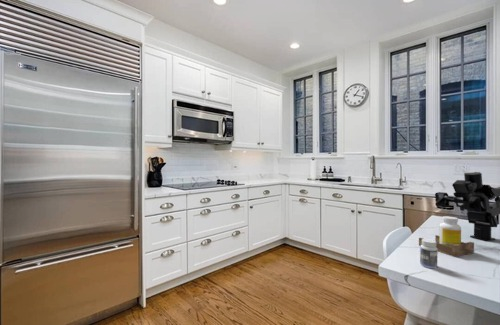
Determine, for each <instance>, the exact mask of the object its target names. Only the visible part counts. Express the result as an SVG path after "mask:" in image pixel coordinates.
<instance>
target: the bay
mask: <svg viewBox="0 0 500 325" xmlns="http://www.w3.org/2000/svg"><path fill="white" fill-rule="evenodd" d="M422 239H424V237H418V246H419V247H420V246H421V245H422ZM434 241H436V248H437V249H438V252H439V253H441V254H445V255H447V256H451V257H454V258H456V257H462V256H466V255H470V254H471V255H472V254H474V253H475V242H473V241H468V242H464V241H461V244H455V245H452V247H450V246H447V245H443V244H440V243H439V235H438V234H436V235H435V240H434Z"/></svg>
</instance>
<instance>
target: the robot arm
mask: <svg viewBox="0 0 500 325" xmlns="http://www.w3.org/2000/svg"><path fill="white" fill-rule="evenodd" d="M463 175H464V180H463V179H460V180H459V179H457V180H455V181H454V182H453V183H452V187H453V190H454V192H453V196H452V195H449V193H447V192H445V191H444V192H441V191H438V192H435V193H434V196H435V206H436V207H439V208H448V207H449V206H450V203H454V204H455V205H456V207H457V208H460V210H466V211H467V212H466V216H467V221H468V223H469V224H473V235H472V234H471V235H470V236H469V237H470V238H473V239H478V240H480V241H485V242H489V241H495V240H496V238H495V237H492V228H498V224H499V221H498V219H497V217H496V216H498V215H500V186H497V187H492V186H491V185H489V184H483V174H482V173H481V171H479V172H478V171H474V172H464V174H463ZM492 200H494V202H495V203H492V204H490V201H492Z"/></svg>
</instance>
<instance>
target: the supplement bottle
mask: <svg viewBox="0 0 500 325" xmlns="http://www.w3.org/2000/svg"><path fill="white" fill-rule="evenodd" d="M458 222H459V218H458V217H454V216H448V215H447V216H446V215H444V216H442V222H440V223H439V235H438V236H439V243H440V244H443V245H447V246H450V247H452V245H455V244H461V242H462V227H461V226H460V224H458Z"/></svg>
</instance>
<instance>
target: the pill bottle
mask: <svg viewBox="0 0 500 325" xmlns="http://www.w3.org/2000/svg"><path fill="white" fill-rule="evenodd" d="M419 248H420V249H419V252H420V253H419V256H420V257H419V258H420V259H419V264H420V265H421V266H422V267H425V268H427V269H437V268H438V255H439V254H438V249H437V248H436V241H435V240H433V239H430V238H429V239H428V238H423V239H422V245H421V246H420V245H419Z"/></svg>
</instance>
